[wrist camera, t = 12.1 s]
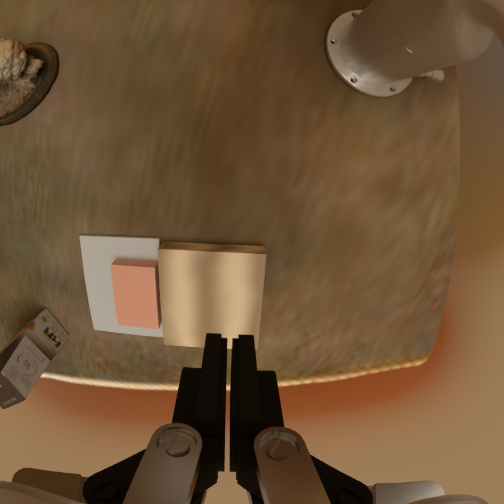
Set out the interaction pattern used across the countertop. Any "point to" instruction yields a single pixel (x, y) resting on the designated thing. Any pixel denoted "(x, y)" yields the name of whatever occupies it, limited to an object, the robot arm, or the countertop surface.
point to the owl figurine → (24, 77)
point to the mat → (100, 278)
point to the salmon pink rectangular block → (137, 292)
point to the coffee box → (28, 357)
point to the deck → (210, 291)
